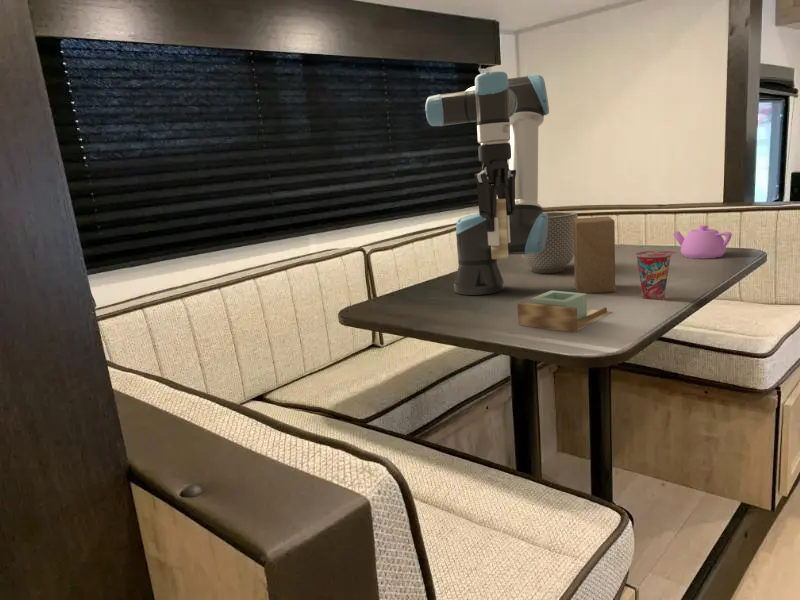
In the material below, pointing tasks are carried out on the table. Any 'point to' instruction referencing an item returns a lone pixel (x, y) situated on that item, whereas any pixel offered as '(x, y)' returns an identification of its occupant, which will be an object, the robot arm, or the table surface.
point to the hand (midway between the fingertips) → (499, 243)
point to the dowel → (501, 231)
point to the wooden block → (594, 254)
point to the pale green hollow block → (564, 301)
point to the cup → (653, 273)
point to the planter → (555, 244)
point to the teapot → (703, 243)
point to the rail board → (556, 316)
